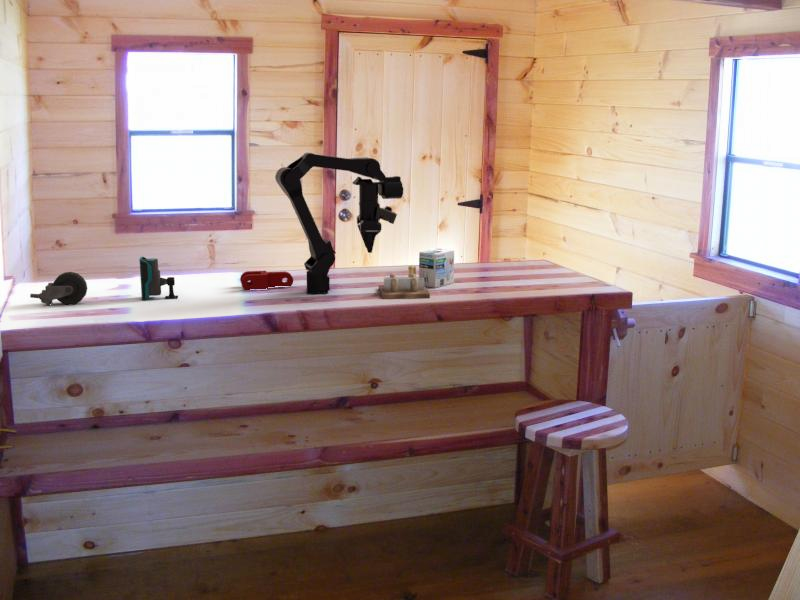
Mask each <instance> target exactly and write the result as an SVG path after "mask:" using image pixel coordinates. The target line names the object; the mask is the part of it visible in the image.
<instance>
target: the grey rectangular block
mask: <svg viewBox="0 0 800 600" xmlns="http://www.w3.org/2000/svg"><path fill="white" fill-rule="evenodd" d="M392 278H398V291H399V290H412V278H418V290H424V280H425V279H424V277H419V276H416V277H408V276H396V277H390V276H388V277H387V276H386V277H384V276H383V285H384V290H385V291H392Z"/></svg>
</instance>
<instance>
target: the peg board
mask: <svg viewBox="0 0 800 600" xmlns="http://www.w3.org/2000/svg"><path fill="white" fill-rule="evenodd" d="M389 277H397V275H396V273H390V274H389ZM409 277H415V274H409ZM378 291H379V293H380V296H381V297H382V299H431V298H430V297H431V293H430V291H429V290H428V289H427V286H424V290H418V278H412V290H399V291H398V278H392V291H385V290H384V284H379V285H378Z"/></svg>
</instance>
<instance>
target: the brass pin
mask: <svg viewBox="0 0 800 600" xmlns="http://www.w3.org/2000/svg"><path fill="white" fill-rule="evenodd" d="M407 269H408V270H407V277H409V274H415V277H417V275H416V273H417V271H416V270H417V266H416V265H410V266H409V265H408V266H407Z"/></svg>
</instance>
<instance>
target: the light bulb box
mask: <svg viewBox="0 0 800 600" xmlns="http://www.w3.org/2000/svg"><path fill="white" fill-rule="evenodd" d="M418 253H419V255H418V256H419V258H418V263H419V265H418V277H424V279H425V280H424V286H425V287H426V288H427V287H428V288H432V289H433V288H435V289H436V288H440V287H443V286H448V285H451V284H452V285H453V284H454V283H455V281H454V280H455V279H454V276H455V275H454V274H455V273H454V271H455V268H454V267H455V250H451V249H443V248H439V247H437V248H435V249H428V250H424V251H419V252H418Z"/></svg>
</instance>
